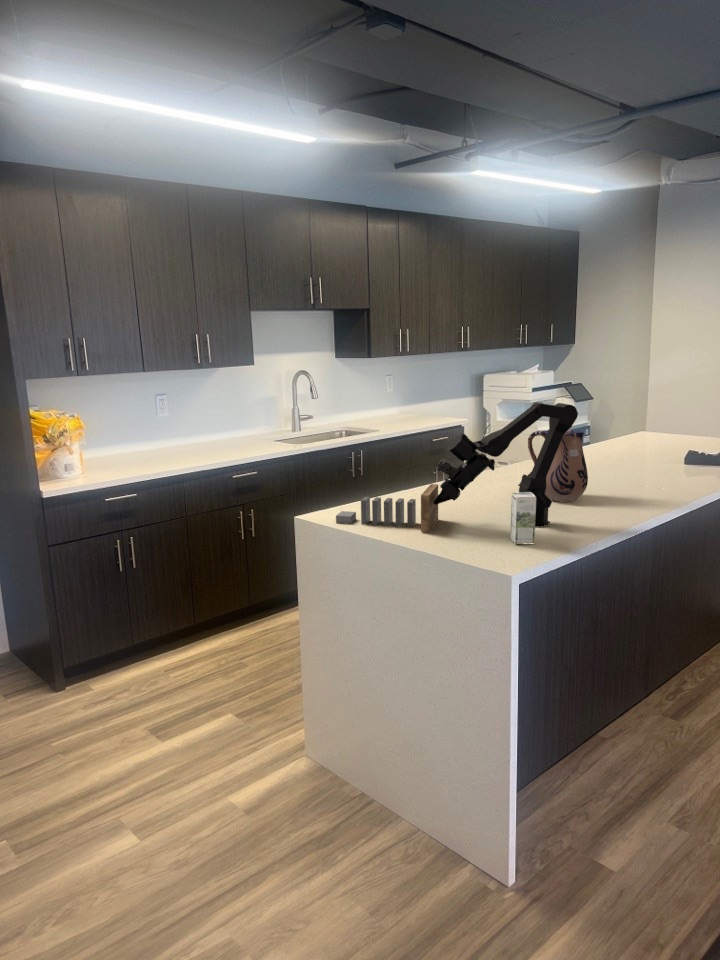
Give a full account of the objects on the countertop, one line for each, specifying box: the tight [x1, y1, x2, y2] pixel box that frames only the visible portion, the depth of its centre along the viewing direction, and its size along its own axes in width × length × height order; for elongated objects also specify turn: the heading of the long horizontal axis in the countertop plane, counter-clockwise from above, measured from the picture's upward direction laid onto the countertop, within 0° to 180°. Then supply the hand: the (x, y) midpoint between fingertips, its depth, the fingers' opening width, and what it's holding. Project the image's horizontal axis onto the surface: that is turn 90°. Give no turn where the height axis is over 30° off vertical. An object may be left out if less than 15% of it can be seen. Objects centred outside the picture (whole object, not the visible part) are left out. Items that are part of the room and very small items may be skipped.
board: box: [420, 483, 439, 534], centre depth 220 cm, size 2×16×12 cm, turn 163°
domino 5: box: [406, 498, 417, 528], centre depth 222 cm, size 2×5×8 cm, turn 164°
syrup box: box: [509, 491, 536, 545], centre depth 200 cm, size 6×6×14 cm
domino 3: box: [383, 497, 394, 526], centre depth 224 cm, size 2×5×8 cm, turn 163°
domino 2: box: [371, 497, 382, 526], centre depth 225 cm, size 2×5×8 cm, turn 164°
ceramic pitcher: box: [527, 428, 589, 502], centre depth 249 cm, size 18×21×25 cm
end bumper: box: [335, 510, 357, 525], centre depth 229 cm, size 5×6×2 cm
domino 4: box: [394, 497, 405, 527], centre depth 223 cm, size 2×5×8 cm, turn 163°
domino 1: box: [360, 496, 371, 525], centre depth 226 cm, size 2×5×8 cm, turn 164°
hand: (435, 502), depth 219 cm, fingers open, 2 cm apart
